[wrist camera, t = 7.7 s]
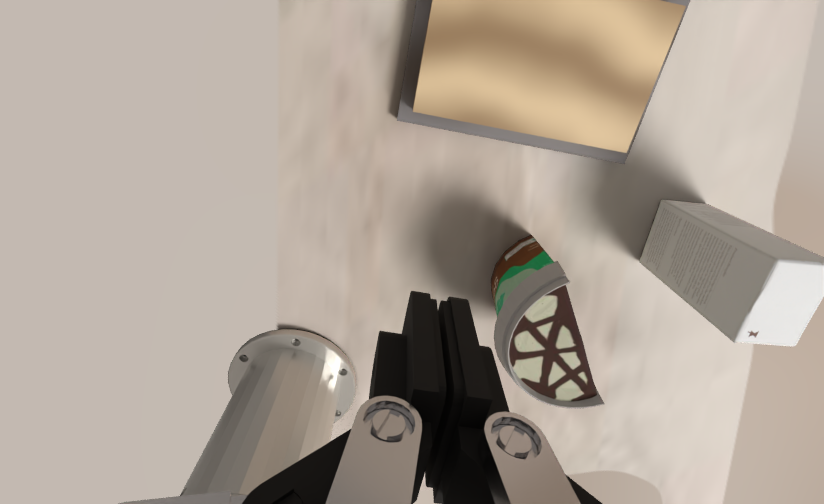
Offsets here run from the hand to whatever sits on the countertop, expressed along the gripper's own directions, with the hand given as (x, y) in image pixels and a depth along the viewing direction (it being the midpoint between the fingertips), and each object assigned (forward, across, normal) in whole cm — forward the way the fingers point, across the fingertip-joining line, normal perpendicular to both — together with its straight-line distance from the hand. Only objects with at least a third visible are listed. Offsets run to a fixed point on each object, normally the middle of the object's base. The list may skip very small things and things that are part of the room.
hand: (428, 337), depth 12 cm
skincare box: (+23, -23, +2) cm, 33 cm away
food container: (+23, -11, +10) cm, 28 cm away
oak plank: (+22, -7, -9) cm, 25 cm away
